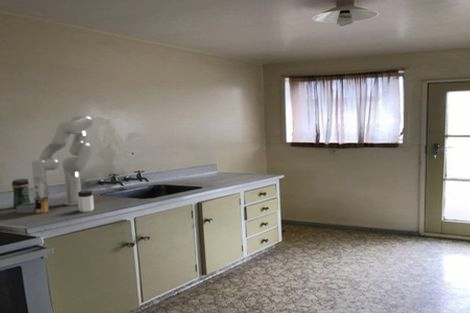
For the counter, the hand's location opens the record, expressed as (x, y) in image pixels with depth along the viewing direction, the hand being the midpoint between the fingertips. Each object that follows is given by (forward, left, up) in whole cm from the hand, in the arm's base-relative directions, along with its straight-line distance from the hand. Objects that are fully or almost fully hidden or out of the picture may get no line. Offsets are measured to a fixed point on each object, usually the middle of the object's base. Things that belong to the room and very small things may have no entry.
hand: (42, 207), depth 245 cm
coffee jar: (+20, -14, -3) cm, 25 cm away
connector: (0, 0, -3) cm, 3 cm away
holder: (+9, -4, -3) cm, 11 cm away
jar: (-28, -1, -3) cm, 28 cm away
